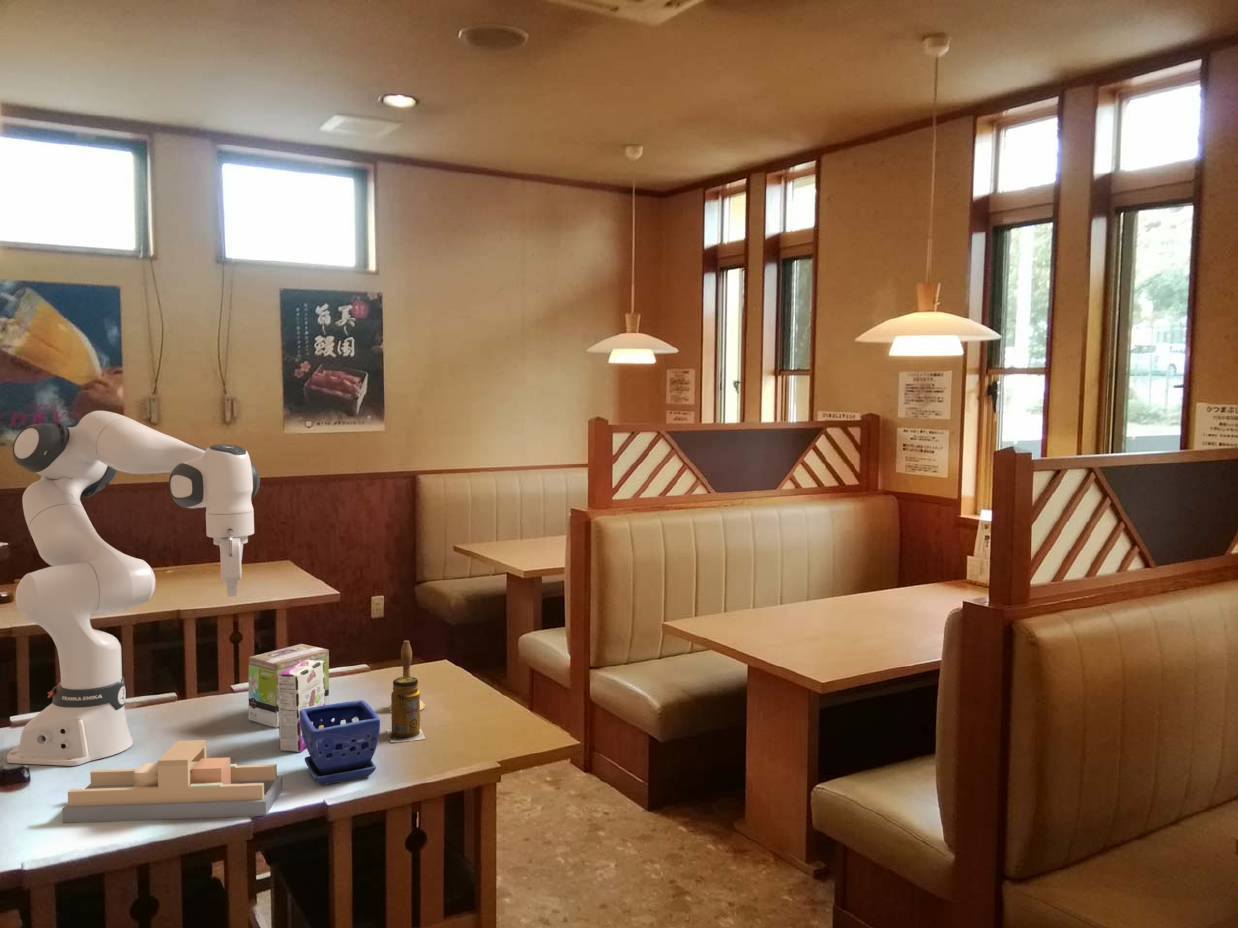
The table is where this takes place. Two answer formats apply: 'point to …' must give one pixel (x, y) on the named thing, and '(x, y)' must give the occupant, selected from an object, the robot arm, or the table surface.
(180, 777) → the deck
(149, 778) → the maple bar
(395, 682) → the condiment
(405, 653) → the hand bell
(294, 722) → the candy bar box
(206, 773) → the terracotta cube
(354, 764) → the flower pot
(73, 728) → the robot arm
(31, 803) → the table surface
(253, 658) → the tea box
